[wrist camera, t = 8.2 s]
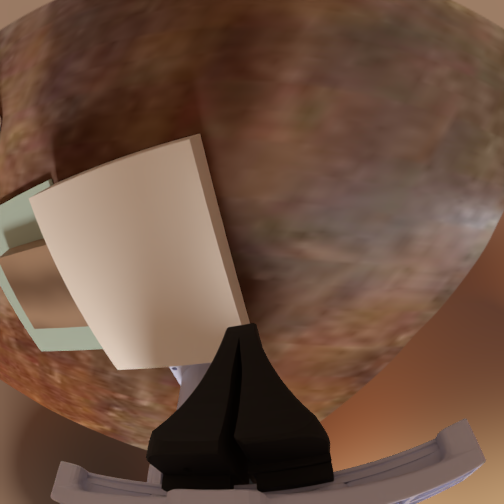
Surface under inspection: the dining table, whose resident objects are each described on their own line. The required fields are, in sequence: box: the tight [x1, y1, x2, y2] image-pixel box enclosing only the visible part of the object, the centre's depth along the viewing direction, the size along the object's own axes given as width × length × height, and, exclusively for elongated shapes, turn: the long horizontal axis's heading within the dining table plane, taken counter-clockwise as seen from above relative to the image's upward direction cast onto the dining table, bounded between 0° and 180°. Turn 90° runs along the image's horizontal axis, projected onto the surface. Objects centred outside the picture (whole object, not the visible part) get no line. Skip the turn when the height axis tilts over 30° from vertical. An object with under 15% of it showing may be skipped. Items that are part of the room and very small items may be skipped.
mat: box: [0, 179, 103, 351], centre depth 23 cm, size 17×13×1 cm
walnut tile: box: [0, 238, 88, 329], centre depth 21 cm, size 8×8×2 cm
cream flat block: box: [29, 134, 250, 370], centre depth 20 cm, size 16×12×4 cm
